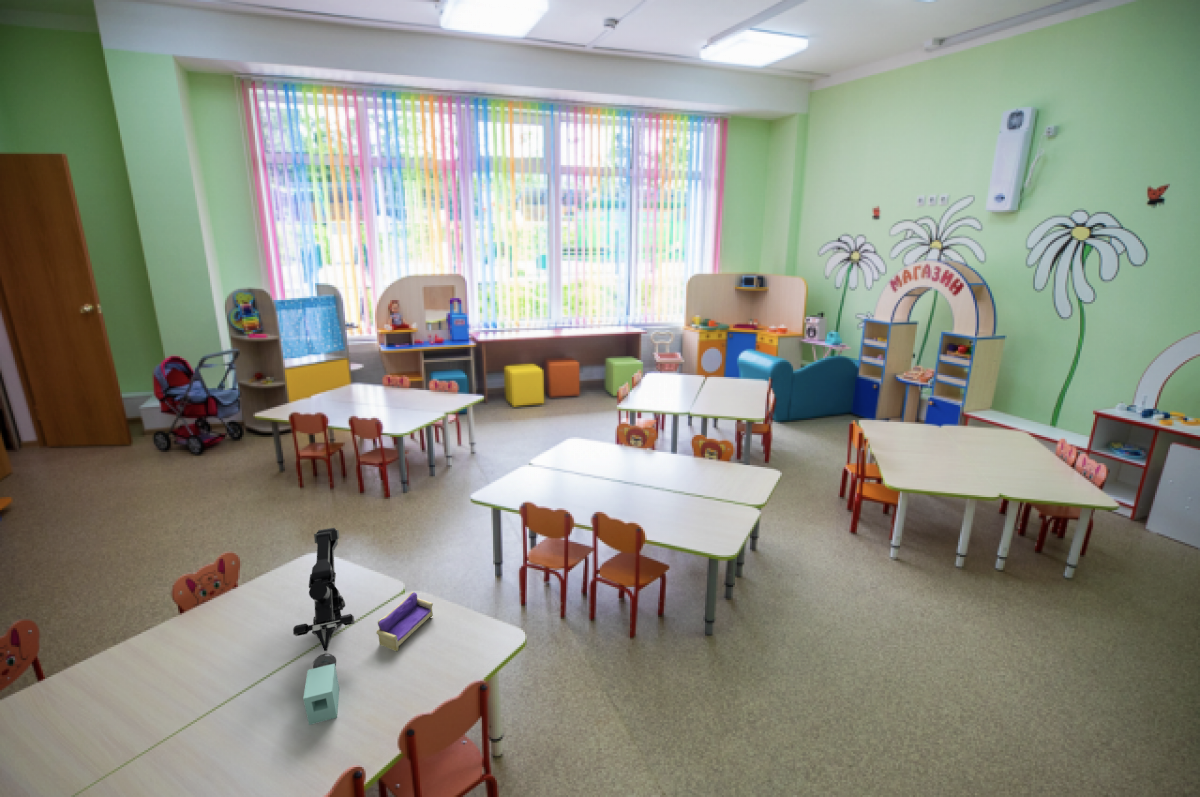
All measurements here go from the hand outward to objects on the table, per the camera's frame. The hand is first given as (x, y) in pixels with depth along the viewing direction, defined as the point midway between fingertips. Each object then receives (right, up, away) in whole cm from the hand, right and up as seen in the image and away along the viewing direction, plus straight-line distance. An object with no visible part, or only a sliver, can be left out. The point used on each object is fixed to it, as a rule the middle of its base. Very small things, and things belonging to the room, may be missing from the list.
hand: (325, 651), depth 196 cm
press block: (+6, -12, -13) cm, 18 cm away
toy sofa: (+21, -1, +20) cm, 29 cm away
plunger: (+4, -7, -8) cm, 11 cm away
